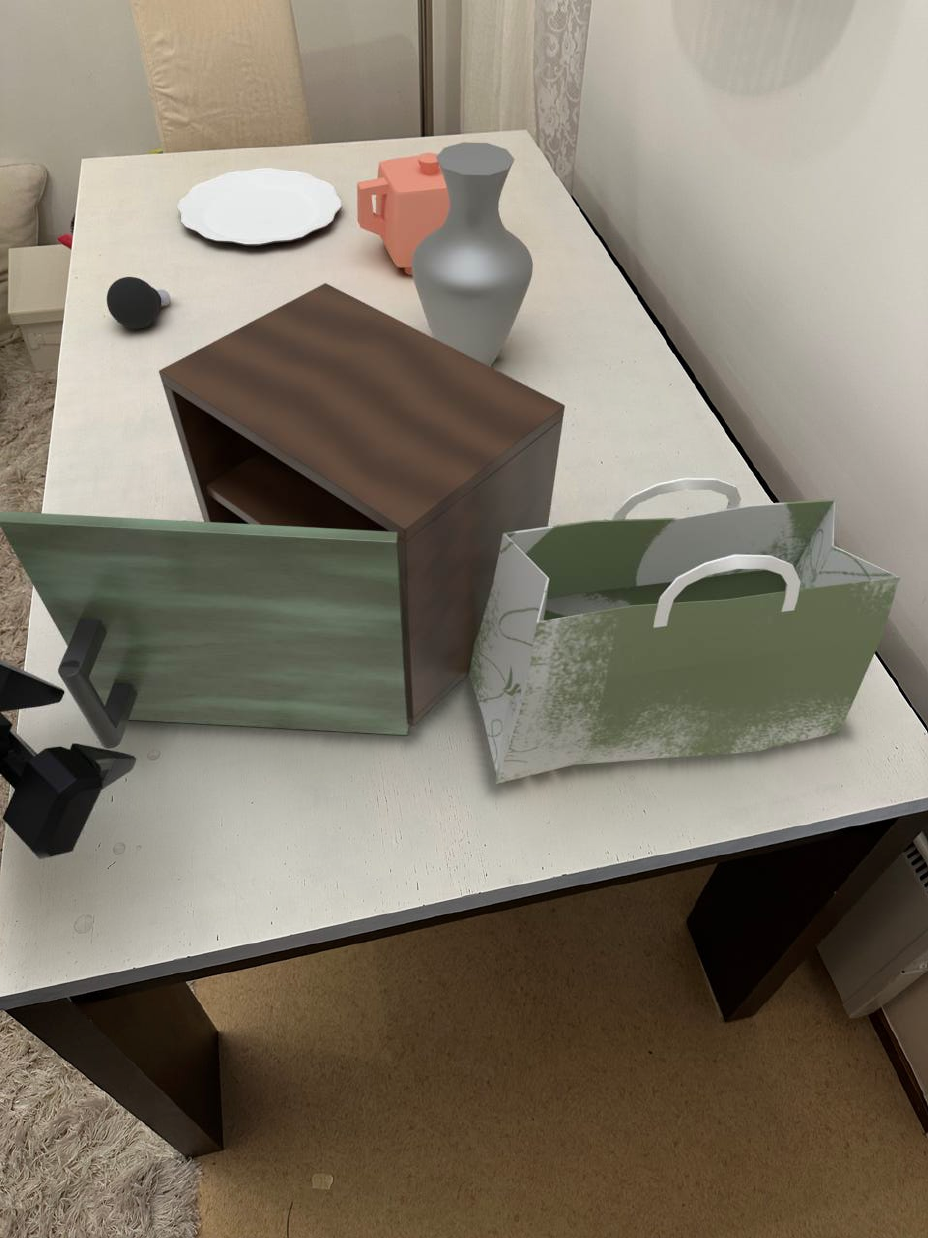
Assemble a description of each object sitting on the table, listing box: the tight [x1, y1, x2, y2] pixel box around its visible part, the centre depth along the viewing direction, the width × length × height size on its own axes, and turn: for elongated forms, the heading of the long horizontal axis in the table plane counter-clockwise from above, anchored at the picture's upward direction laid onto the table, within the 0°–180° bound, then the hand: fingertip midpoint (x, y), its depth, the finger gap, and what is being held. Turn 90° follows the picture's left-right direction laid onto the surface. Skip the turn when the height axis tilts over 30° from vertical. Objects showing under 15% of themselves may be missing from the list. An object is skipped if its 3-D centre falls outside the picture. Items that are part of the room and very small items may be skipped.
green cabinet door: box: [0, 510, 409, 750], centre depth 63 cm, size 6×26×24 cm, turn 87°
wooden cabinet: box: [158, 282, 566, 726], centre depth 75 cm, size 18×26×24 cm
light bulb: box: [106, 276, 172, 330], centre depth 112 cm, size 6×6×10 cm
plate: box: [176, 167, 343, 247], centre depth 133 cm, size 25×25×2 cm
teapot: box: [356, 152, 449, 276], centre depth 121 cm, size 22×13×14 cm, turn 108°
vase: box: [411, 141, 534, 368], centre depth 100 cm, size 14×14×25 cm
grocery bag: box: [468, 477, 901, 785], centre depth 68 cm, size 32×14×23 cm, turn 100°
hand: (96, 728), depth 64 cm, fingers open, 9 cm apart
